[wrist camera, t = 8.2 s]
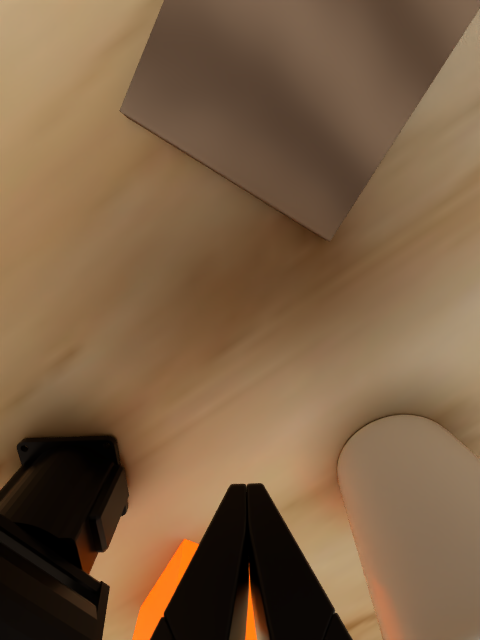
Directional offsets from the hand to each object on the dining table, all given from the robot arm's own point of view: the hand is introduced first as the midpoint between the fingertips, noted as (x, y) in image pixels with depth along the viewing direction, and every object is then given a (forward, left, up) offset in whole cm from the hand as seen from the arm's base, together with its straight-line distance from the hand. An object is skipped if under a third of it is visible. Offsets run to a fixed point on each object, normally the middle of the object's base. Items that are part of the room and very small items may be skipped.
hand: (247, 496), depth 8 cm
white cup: (+10, -10, -12) cm, 19 cm away
